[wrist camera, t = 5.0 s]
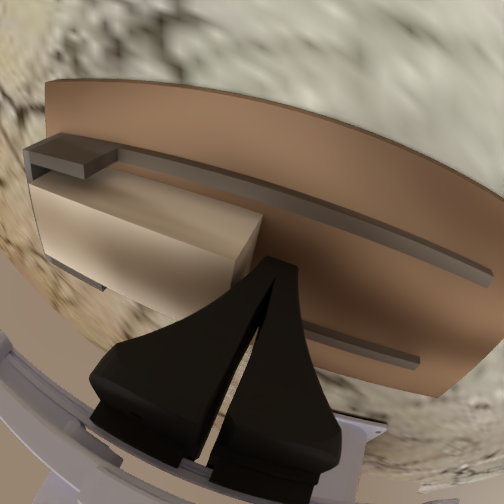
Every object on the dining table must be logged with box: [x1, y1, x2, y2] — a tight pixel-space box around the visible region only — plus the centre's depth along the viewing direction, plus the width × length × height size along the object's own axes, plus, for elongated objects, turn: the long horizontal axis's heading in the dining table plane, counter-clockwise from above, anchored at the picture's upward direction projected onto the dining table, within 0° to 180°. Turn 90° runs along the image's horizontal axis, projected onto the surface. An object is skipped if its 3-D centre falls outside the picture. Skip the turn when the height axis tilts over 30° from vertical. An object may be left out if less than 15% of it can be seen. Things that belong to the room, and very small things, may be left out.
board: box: [23, 79, 504, 398], centre depth 12 cm, size 12×26×3 cm, turn 78°
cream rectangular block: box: [29, 168, 263, 321], centre depth 12 cm, size 4×10×3 cm, turn 78°
